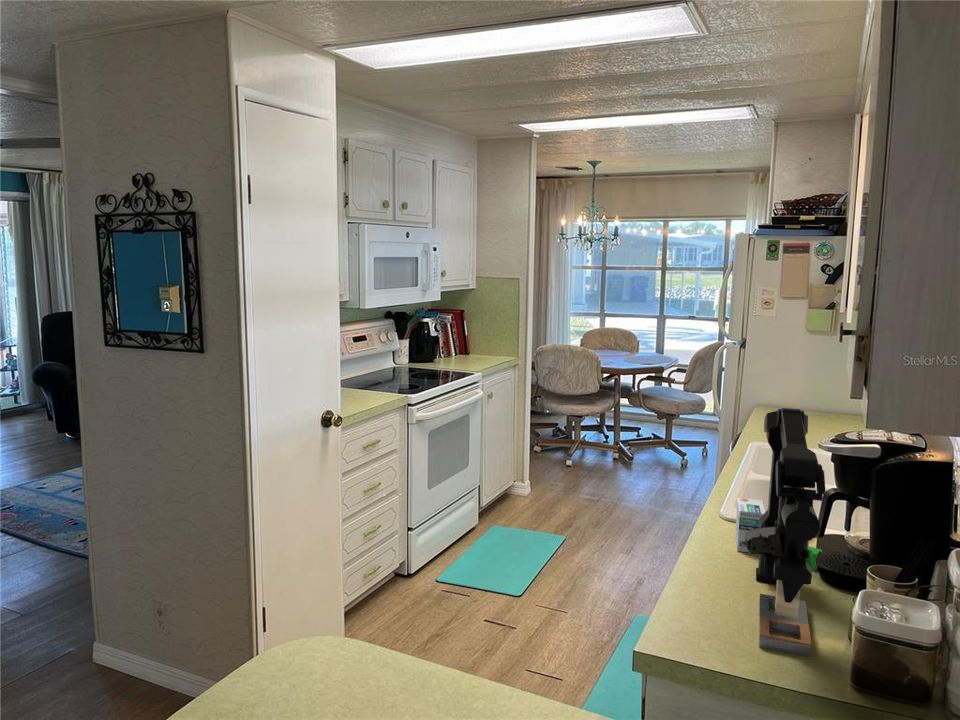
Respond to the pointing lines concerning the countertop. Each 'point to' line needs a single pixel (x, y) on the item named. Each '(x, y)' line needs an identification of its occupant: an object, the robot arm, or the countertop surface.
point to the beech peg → (784, 607)
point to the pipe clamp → (812, 557)
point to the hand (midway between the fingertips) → (787, 597)
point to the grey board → (783, 628)
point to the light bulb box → (747, 519)
